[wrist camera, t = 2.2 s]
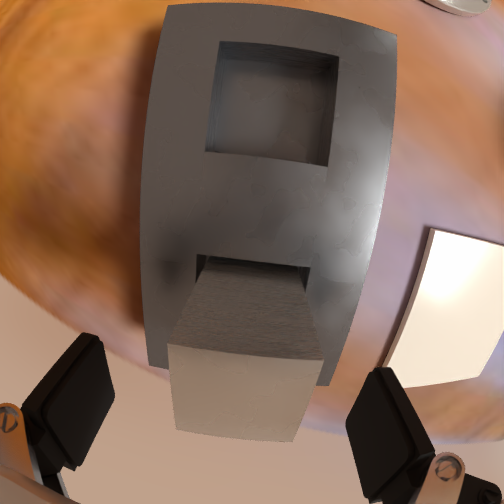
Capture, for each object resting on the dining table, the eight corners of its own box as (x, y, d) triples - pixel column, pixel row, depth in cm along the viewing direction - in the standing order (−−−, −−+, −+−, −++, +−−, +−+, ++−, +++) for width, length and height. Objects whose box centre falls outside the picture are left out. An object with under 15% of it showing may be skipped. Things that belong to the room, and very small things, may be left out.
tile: (430, 227, 14) (435, 230, 13) (527, 252, 14) (532, 254, 13) (372, 384, 18) (375, 389, 17) (475, 372, 18) (478, 376, 17)
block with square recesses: (184, 29, 11) (168, 5, 8) (373, 53, 11) (396, 35, 8) (163, 335, 17) (148, 365, 14) (320, 353, 17) (328, 385, 14)
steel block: (214, 245, 14) (167, 343, 7) (293, 255, 14) (324, 360, 7) (210, 313, 16) (176, 429, 8) (281, 321, 16) (292, 441, 8)
